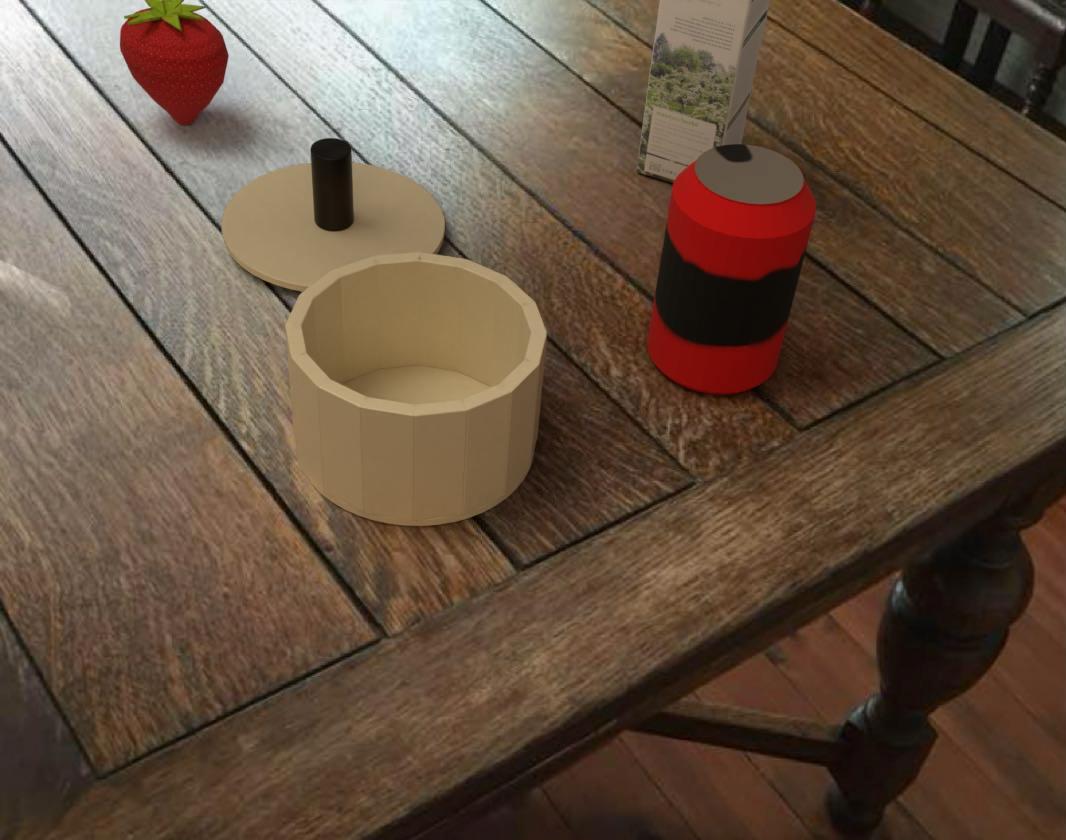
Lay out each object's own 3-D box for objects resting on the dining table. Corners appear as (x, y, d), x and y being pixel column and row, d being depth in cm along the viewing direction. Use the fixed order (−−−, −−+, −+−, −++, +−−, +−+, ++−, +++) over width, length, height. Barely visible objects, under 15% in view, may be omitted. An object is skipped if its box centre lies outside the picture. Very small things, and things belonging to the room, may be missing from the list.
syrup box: (740, 158, 94) (783, -52, 83) (712, 200, 90) (752, -15, 79) (663, 135, 95) (696, -74, 85) (632, 175, 91) (662, -39, 81)
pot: (266, 504, 68) (253, 390, 63) (331, 349, 77) (325, 237, 71) (513, 544, 67) (522, 433, 62) (551, 383, 76) (562, 273, 71)
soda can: (744, 307, 82) (784, 128, 73) (797, 387, 77) (847, 205, 69) (627, 324, 80) (654, 142, 72) (674, 407, 75) (709, 222, 67)
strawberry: (197, 162, 89) (179, 14, 82) (110, 124, 91) (85, -22, 84) (256, 124, 93) (243, -20, 85) (170, 89, 95) (151, -54, 88)
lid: (192, 283, 80) (179, 193, 76) (260, 162, 89) (252, 76, 85) (418, 318, 79) (419, 229, 75) (463, 192, 89) (466, 107, 84)
